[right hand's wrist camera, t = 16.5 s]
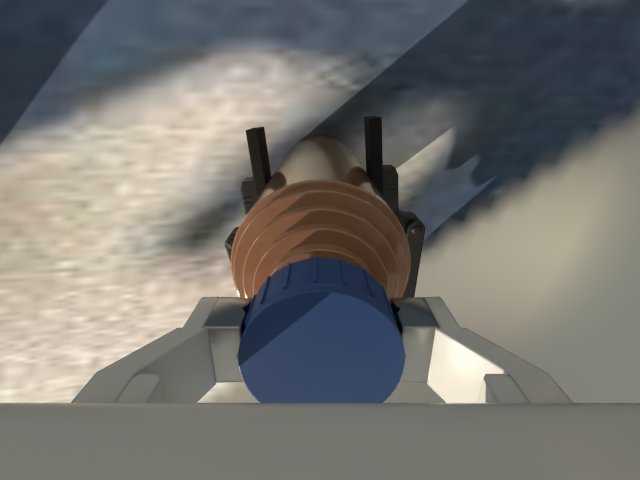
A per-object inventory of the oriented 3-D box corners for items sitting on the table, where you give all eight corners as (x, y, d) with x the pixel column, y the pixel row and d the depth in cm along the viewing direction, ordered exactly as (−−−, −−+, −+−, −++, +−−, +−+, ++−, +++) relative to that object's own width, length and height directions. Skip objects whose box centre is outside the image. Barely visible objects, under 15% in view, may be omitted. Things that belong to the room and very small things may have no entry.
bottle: (272, 204, 31) (169, 422, 10) (290, 125, 29) (206, 188, 7) (346, 224, 32) (400, 467, 11) (370, 149, 29) (508, 268, 8)
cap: (238, 360, 11) (223, 408, 9) (267, 238, 9) (255, 269, 8) (365, 387, 11) (373, 439, 10) (413, 275, 10) (433, 313, 8)
